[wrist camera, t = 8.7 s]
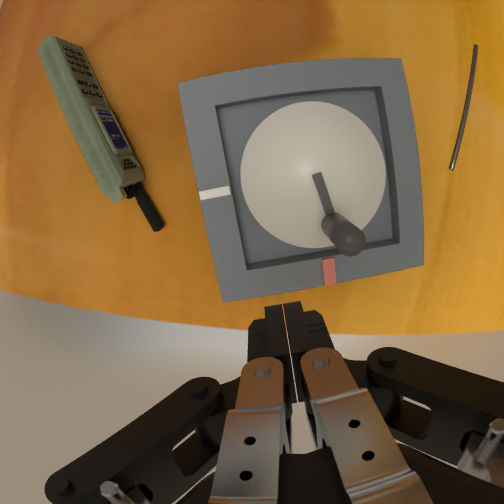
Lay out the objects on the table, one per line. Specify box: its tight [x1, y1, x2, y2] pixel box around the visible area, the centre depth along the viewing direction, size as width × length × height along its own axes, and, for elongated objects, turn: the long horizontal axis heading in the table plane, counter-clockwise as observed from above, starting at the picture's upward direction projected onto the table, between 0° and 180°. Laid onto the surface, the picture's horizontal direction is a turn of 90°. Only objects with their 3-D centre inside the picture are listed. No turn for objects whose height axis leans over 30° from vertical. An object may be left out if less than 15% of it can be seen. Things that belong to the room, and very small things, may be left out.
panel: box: [178, 58, 424, 303], centre depth 30 cm, size 22×22×4 cm
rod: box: [449, 44, 478, 170], centre depth 29 cm, size 1×19×1 cm, turn 164°
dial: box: [240, 101, 386, 257], centre depth 26 cm, size 14×14×8 cm
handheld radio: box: [38, 36, 164, 232], centre depth 28 cm, size 7×3×25 cm
